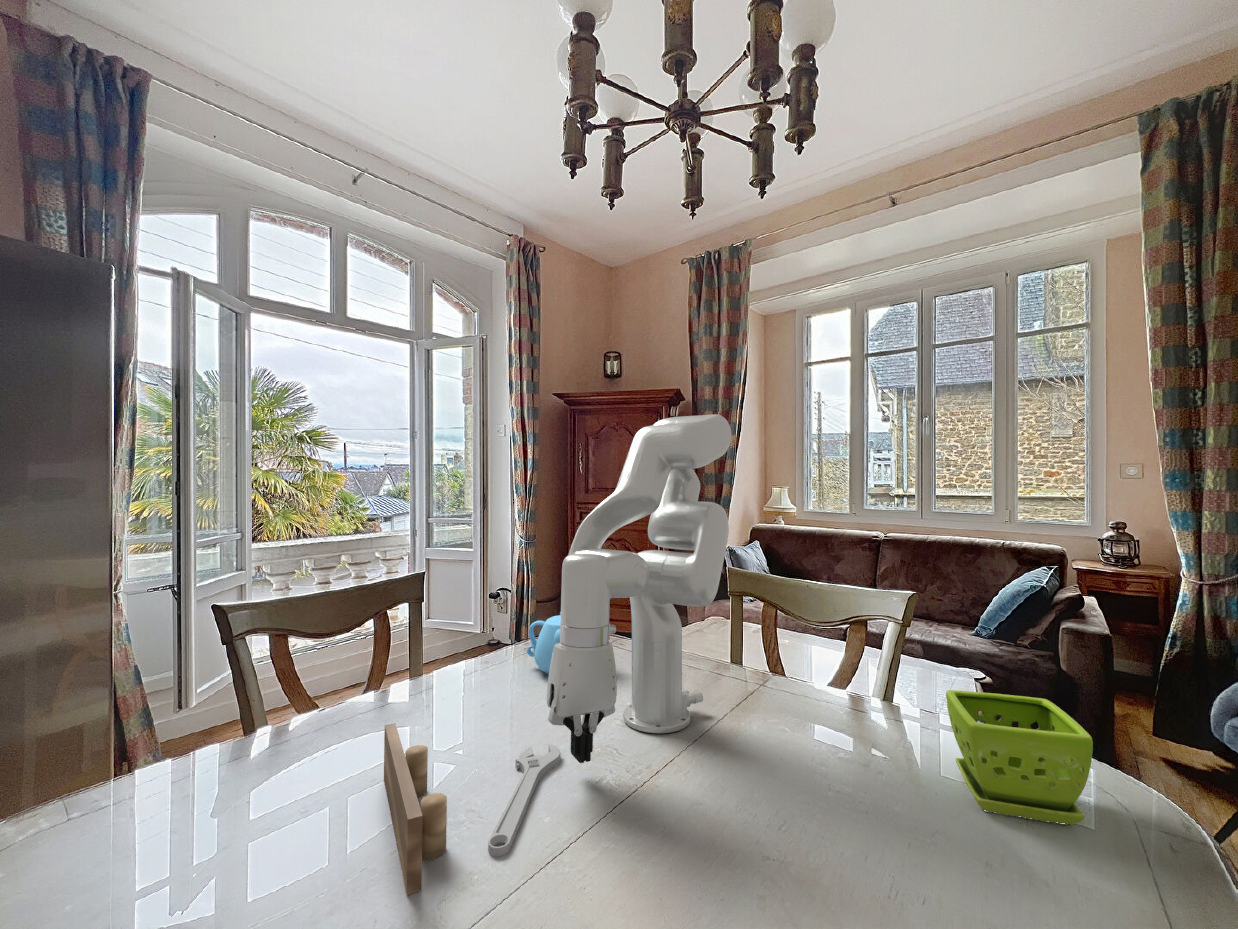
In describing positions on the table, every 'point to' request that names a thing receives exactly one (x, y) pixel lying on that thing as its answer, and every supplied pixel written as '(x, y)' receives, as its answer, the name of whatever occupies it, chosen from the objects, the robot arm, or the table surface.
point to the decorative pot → (544, 642)
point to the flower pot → (1021, 755)
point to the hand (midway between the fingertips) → (581, 758)
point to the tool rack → (412, 808)
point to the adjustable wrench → (521, 797)
